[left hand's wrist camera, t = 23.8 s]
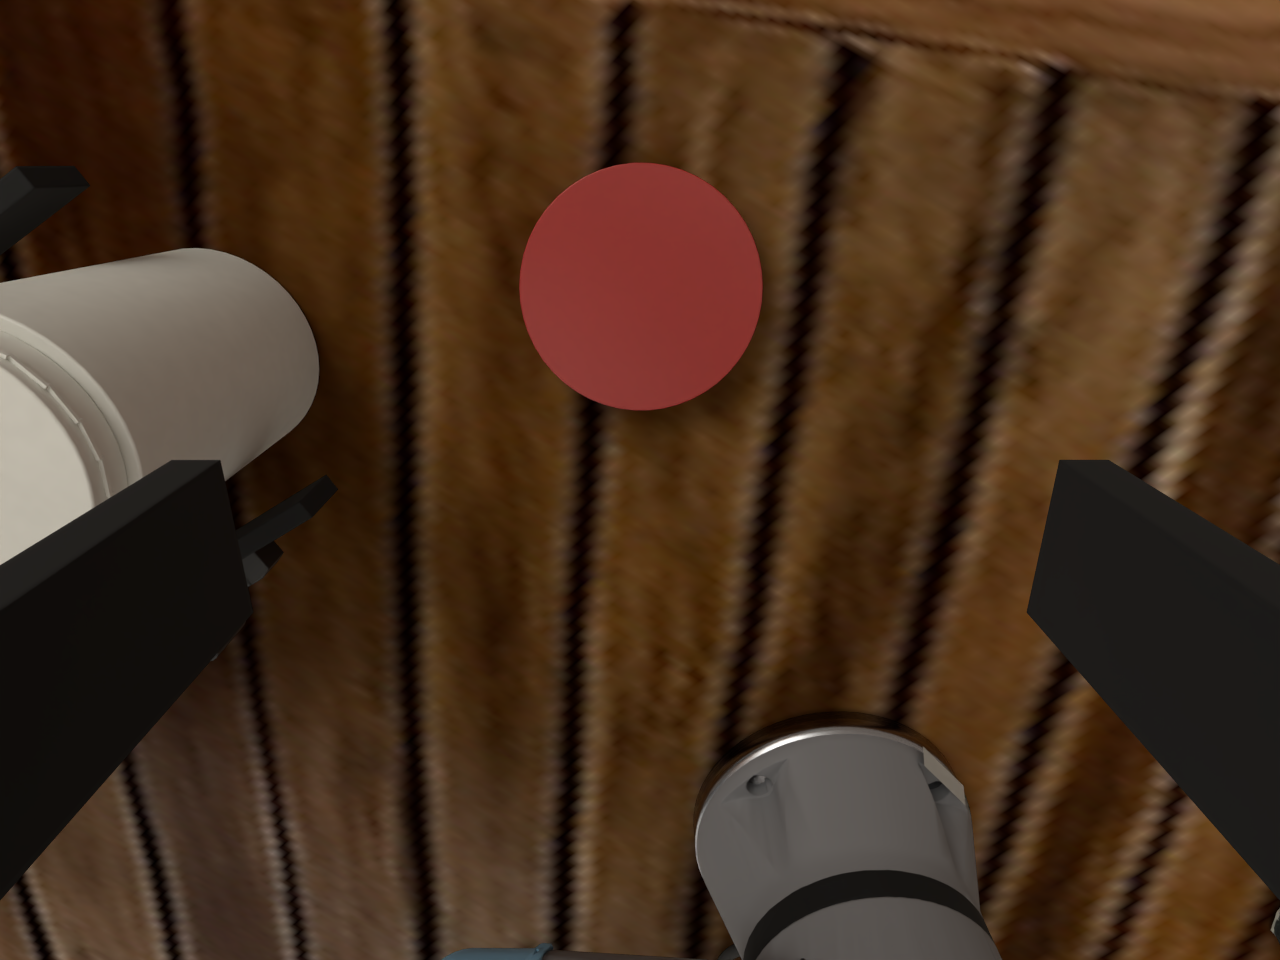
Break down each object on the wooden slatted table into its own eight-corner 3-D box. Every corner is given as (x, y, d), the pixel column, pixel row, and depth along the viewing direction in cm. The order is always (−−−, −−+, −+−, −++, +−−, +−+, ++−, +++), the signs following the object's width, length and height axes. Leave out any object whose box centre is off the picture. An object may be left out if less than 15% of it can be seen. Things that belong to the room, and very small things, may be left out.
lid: (511, 171, 31) (503, 172, 30) (755, 153, 31) (762, 153, 29) (539, 405, 35) (534, 417, 34) (757, 391, 35) (763, 403, 33)
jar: (351, 319, 34) (152, 427, 20) (275, 481, 37) (56, 673, 23) (150, 205, 32) (-221, 237, 18) (87, 385, 35) (-273, 530, 21)
